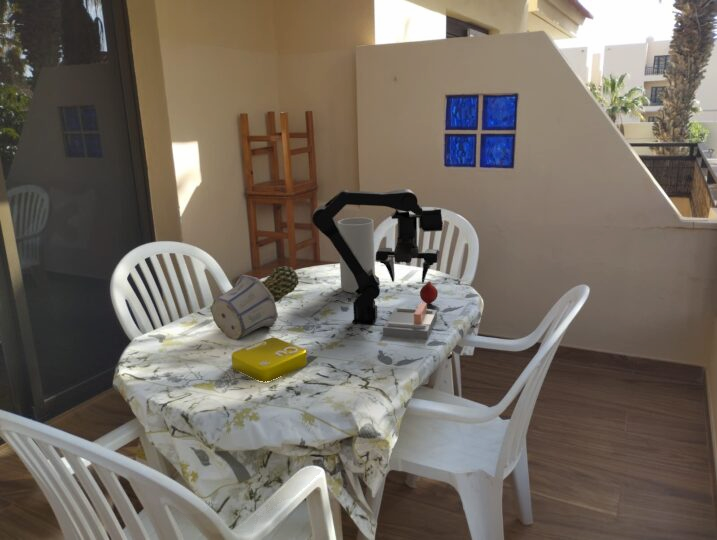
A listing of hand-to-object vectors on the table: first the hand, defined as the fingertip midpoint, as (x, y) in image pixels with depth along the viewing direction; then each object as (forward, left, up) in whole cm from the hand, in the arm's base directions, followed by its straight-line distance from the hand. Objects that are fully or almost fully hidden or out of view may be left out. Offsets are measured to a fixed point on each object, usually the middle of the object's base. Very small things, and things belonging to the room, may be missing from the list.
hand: (408, 282), depth 175 cm
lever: (+5, -6, -9) cm, 12 cm away
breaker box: (+2, -6, -12) cm, 14 cm away
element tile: (-29, -40, -13) cm, 51 cm away
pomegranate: (+4, +14, -12) cm, 19 cm away
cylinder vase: (-24, +26, -12) cm, 37 cm away
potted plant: (-43, -14, -12) cm, 47 cm away
